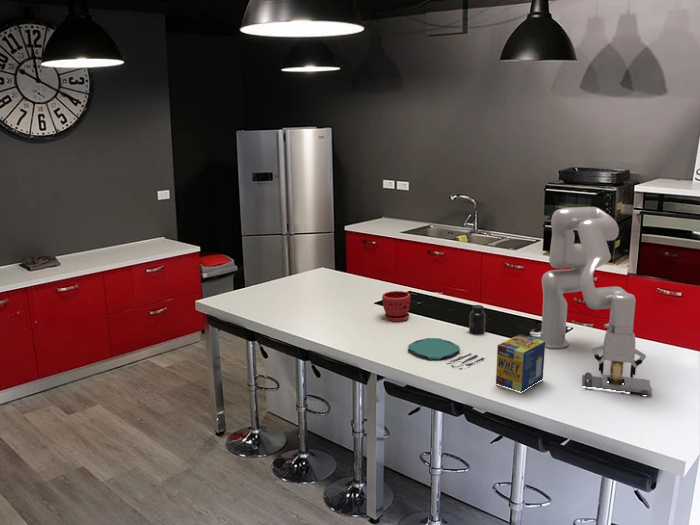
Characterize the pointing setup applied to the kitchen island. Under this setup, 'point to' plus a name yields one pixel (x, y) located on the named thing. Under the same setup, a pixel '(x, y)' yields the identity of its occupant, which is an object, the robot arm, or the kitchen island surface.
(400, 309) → the plant pot
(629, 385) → the hinged hasp latch
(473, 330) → the supplement bottle
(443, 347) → the cutlery set
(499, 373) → the protein box
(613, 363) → the brass pin
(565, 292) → the robot arm
